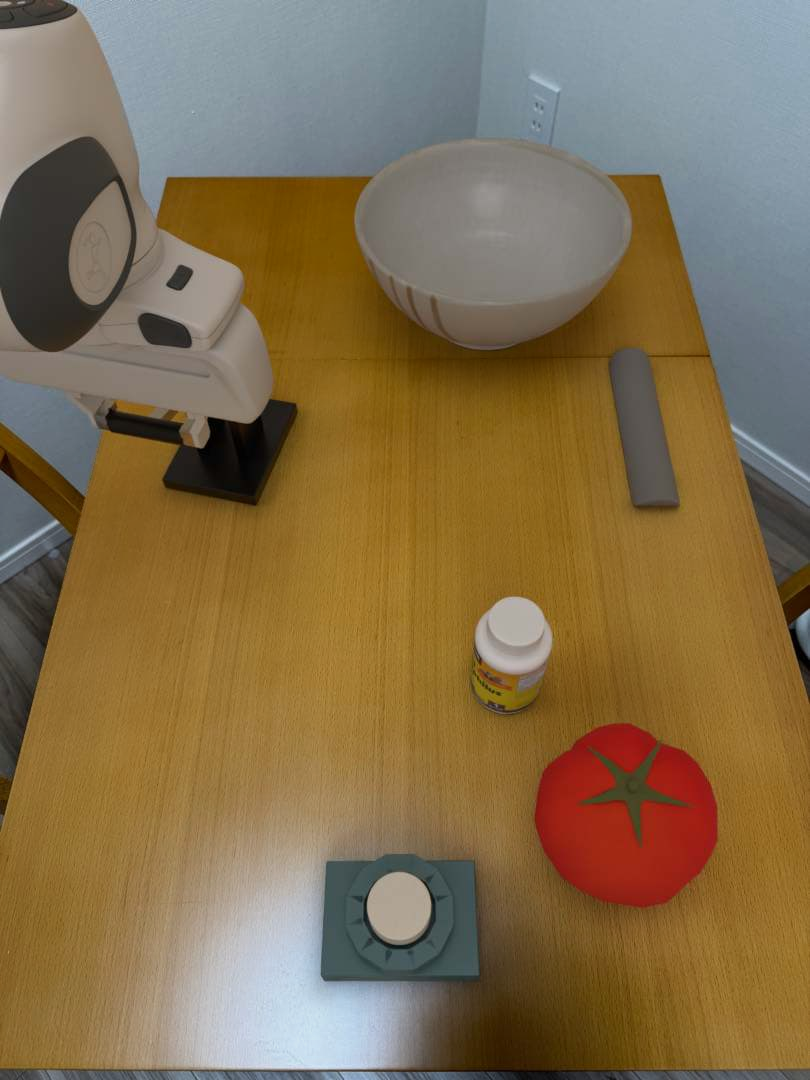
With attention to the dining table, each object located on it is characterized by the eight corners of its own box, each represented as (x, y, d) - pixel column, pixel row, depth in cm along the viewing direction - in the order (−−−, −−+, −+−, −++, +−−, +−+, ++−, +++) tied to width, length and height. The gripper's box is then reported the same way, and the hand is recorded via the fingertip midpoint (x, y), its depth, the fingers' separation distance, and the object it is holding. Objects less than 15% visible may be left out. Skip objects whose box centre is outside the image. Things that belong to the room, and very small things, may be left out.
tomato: (678, 756, 64) (718, 697, 55) (710, 921, 57) (761, 883, 49) (518, 757, 64) (533, 699, 55) (531, 922, 57) (550, 885, 49)
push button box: (323, 981, 55) (317, 971, 52) (329, 869, 59) (323, 853, 56) (477, 980, 55) (481, 970, 52) (473, 868, 59) (476, 852, 56)
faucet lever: (183, 454, 64) (180, 427, 63) (110, 440, 65) (105, 413, 64) (250, 374, 74) (248, 349, 73) (186, 363, 75) (183, 338, 74)
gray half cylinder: (649, 360, 88) (653, 347, 86) (681, 512, 77) (686, 500, 75) (607, 360, 88) (610, 347, 87) (633, 512, 77) (637, 500, 75)
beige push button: (367, 945, 53) (366, 940, 52) (369, 878, 56) (367, 871, 54) (431, 945, 53) (431, 940, 52) (430, 878, 56) (430, 871, 54)
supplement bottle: (456, 671, 68) (461, 605, 60) (516, 641, 69) (529, 573, 61) (492, 729, 65) (503, 669, 57) (554, 697, 67) (573, 634, 58)
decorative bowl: (349, 396, 86) (339, 299, 76) (372, 233, 101) (366, 134, 91) (620, 405, 84) (646, 307, 74) (601, 238, 100) (620, 138, 90)
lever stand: (256, 506, 78) (230, 407, 67) (164, 488, 79) (125, 388, 69) (298, 412, 85) (280, 309, 74) (213, 397, 86) (184, 293, 75)
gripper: (-76, 285, 54) (9, 438, 65) (229, 336, 51) (263, 487, 62) (-22, 228, 57) (49, 382, 68) (266, 272, 54) (291, 426, 65)
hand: (152, 432), depth 65 cm, fingers closed on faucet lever, 6 cm apart
